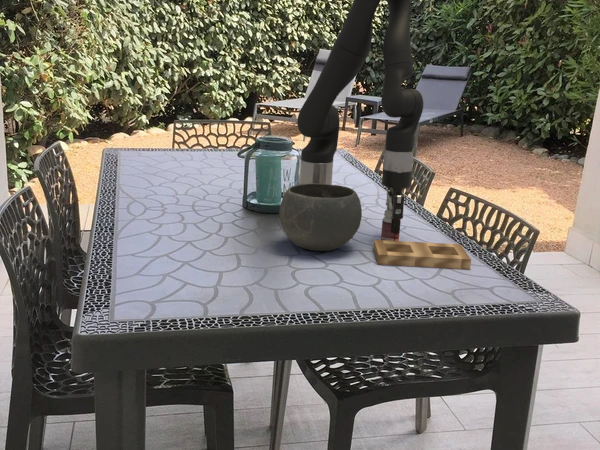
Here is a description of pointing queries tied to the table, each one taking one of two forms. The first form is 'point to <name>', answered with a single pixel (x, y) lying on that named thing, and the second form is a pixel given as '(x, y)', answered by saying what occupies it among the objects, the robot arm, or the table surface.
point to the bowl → (320, 215)
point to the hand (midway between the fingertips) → (392, 228)
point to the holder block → (421, 254)
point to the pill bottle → (388, 227)
